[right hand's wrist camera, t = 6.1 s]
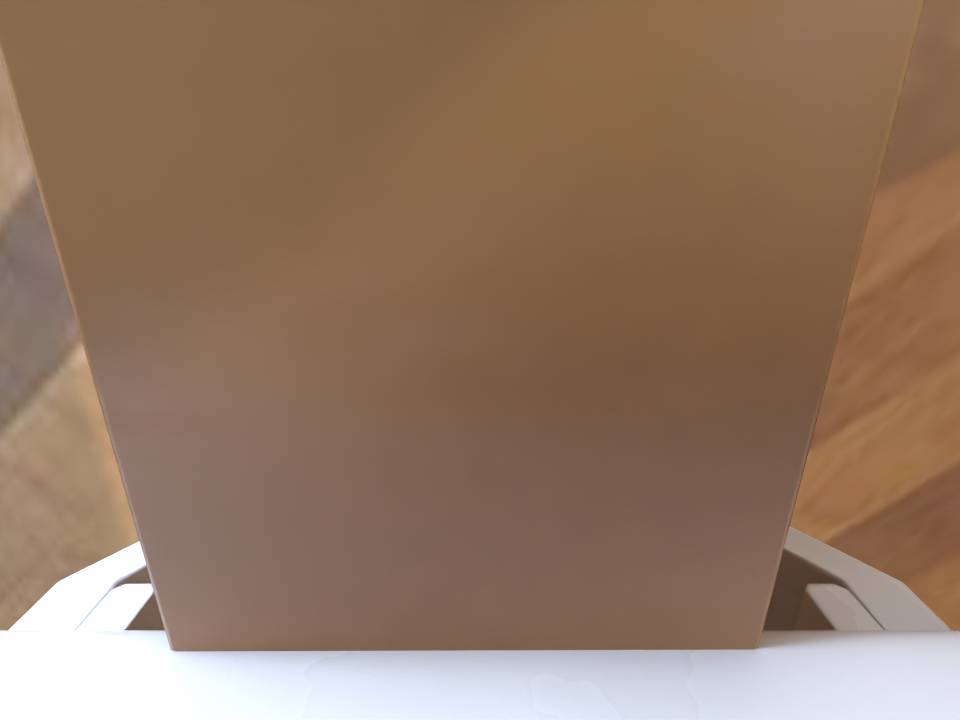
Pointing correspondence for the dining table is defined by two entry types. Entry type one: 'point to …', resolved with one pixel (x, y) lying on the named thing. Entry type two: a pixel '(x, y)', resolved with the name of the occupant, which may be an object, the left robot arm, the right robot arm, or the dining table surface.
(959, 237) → the dining table surface
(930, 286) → the dining table surface
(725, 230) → the box
